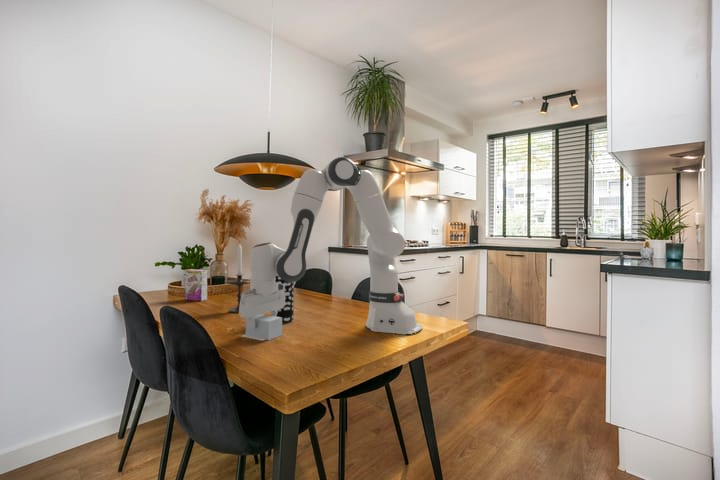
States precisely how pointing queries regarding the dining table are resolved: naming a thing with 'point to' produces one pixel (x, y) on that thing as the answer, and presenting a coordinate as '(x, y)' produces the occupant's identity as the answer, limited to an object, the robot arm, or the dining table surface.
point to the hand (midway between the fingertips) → (263, 325)
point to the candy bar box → (195, 285)
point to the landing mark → (253, 337)
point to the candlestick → (238, 280)
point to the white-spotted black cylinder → (286, 301)
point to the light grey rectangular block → (265, 327)
